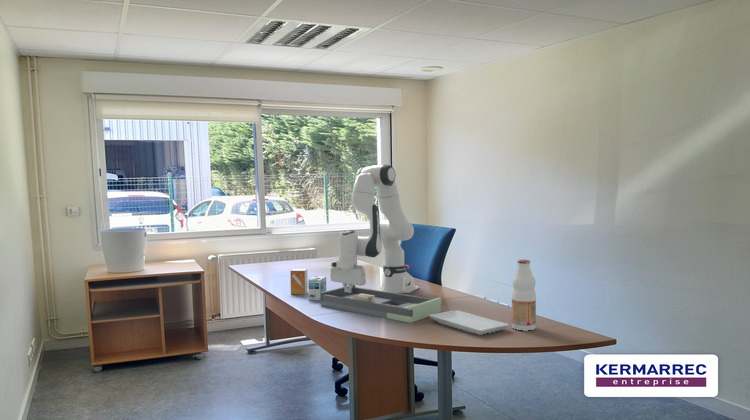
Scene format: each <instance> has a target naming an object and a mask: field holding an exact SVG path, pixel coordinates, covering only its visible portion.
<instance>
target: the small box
mask: <svg viewBox="0 0 750 420" xmlns="http://www.w3.org/2000/svg"><path fill="white" fill-rule="evenodd" d="M308 280H309V278H308V268H292V269H291V270H290V295H303V296H304V295H306V294H307V293H309V287H308Z"/></svg>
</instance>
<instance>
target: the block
mask: <svg viewBox="0 0 750 420" xmlns="http://www.w3.org/2000/svg"><path fill="white" fill-rule="evenodd" d="M354 299H355V300H361V301H367V302H373V303H375V296H374V295H368V294H358V295H354Z"/></svg>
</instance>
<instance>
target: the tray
mask: <svg viewBox="0 0 750 420" xmlns="http://www.w3.org/2000/svg"><path fill="white" fill-rule="evenodd" d="M428 318H431V319H432V320H434V321H436V322H437V323H438V324H441V325H444V326H448V327H451V328H454V329H458V330H460V329H461V331H463V332H467V333H470V332H471V333H470V334H473V333H475V334H474V335H476V334H478V335H477V336H484V335H483V334H485V335H487V334H486V333H489V334H492V333H491V332H493V333H496V332H495V331H498V332H500V331H502V330H503V329H506V328H507V327H509V326H510V324H509V323H506V322H502V321H498V320H494V319H491V318H488V317H484V316H480V315H476V314H473V313H468V312H465V311H462V310H457V309H456V310H449V311H443V312H442V311H441V312H440V313H437V314H431V315H429V316H428Z"/></svg>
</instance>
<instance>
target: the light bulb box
mask: <svg viewBox="0 0 750 420" xmlns="http://www.w3.org/2000/svg"><path fill="white" fill-rule="evenodd" d="M324 291H327V276H323V275H322V276H320V275H319V276H318V275H317V276H316V275H314V276H312V277H310V278H308V301H320V302H321V300H320V292H324Z"/></svg>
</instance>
